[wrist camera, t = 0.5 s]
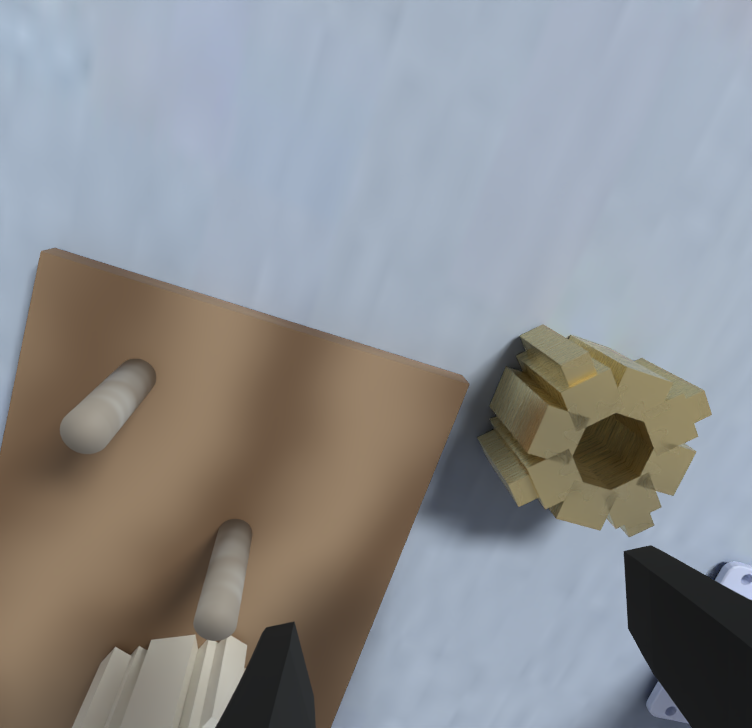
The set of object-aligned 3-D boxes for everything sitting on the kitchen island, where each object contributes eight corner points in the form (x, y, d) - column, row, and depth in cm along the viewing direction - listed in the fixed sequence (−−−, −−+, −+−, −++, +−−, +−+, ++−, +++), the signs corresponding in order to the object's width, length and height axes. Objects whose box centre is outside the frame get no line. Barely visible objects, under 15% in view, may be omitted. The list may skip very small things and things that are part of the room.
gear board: (462, 375, 21) (511, 437, 16) (283, 823, 26) (275, 981, 21) (55, 247, 18) (-48, 271, 13) (-55, 773, 24) (-159, 940, 18)
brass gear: (653, 361, 22) (725, 398, 18) (593, 486, 23) (649, 545, 19) (524, 317, 21) (572, 346, 17) (469, 450, 22) (502, 505, 18)
